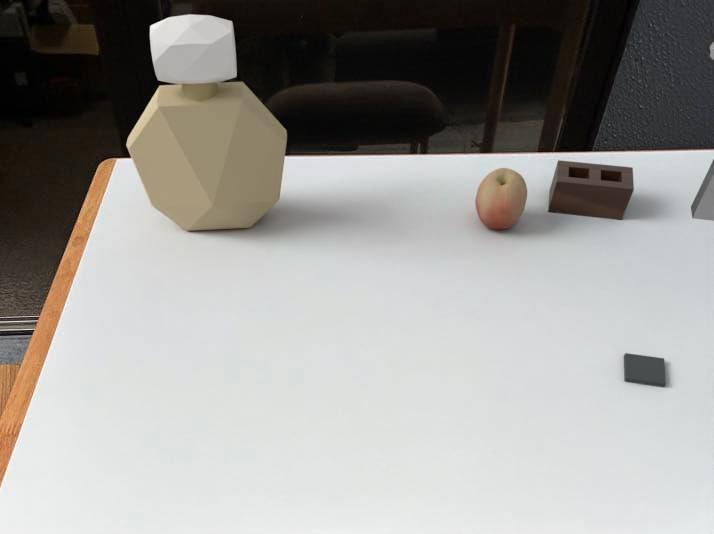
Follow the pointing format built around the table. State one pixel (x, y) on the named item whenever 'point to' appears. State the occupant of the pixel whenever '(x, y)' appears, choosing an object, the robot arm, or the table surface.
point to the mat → (644, 370)
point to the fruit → (501, 198)
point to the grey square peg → (705, 198)
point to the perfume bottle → (205, 131)
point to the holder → (591, 189)
